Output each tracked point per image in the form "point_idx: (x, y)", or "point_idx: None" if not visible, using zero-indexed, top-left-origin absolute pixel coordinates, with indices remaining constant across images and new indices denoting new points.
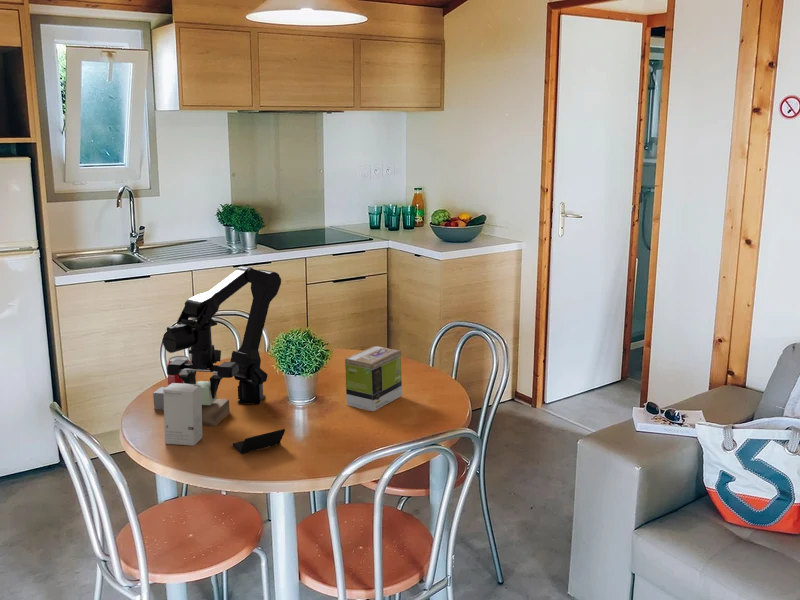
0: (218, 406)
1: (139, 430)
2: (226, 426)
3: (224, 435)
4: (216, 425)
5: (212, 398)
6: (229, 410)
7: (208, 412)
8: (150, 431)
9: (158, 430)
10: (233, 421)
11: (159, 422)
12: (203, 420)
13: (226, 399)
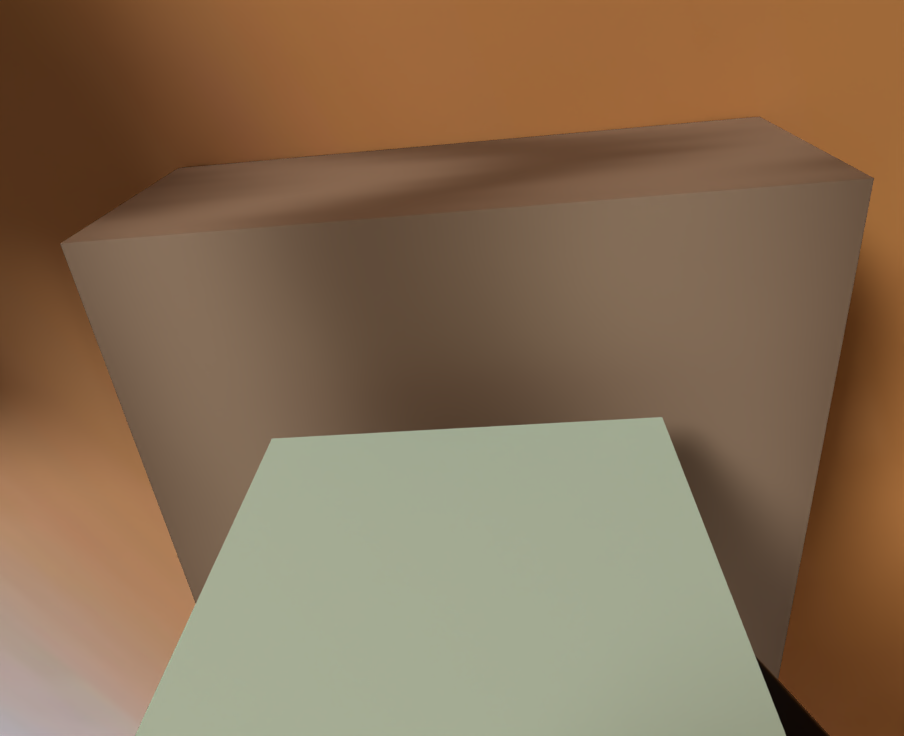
0: (749, 547)
1: (25, 729)
2: (837, 544)
3: (867, 707)
4: None
5: None
6: (773, 127)
7: None
8: (131, 731)
9: None
10: (898, 408)
11: (38, 577)
12: None
13: (816, 205)
